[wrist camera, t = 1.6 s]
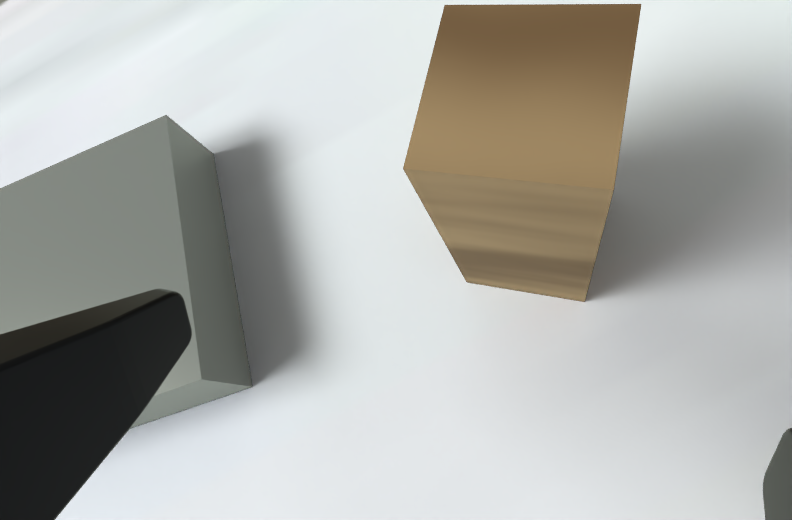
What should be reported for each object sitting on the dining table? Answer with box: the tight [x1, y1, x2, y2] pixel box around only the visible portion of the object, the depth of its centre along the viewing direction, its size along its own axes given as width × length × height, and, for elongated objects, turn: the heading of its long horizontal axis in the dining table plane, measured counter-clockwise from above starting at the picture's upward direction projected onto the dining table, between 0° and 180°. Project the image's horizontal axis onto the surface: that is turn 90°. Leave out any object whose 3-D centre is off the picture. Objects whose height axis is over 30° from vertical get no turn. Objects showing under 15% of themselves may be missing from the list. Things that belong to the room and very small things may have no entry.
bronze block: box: [403, 4, 641, 302], centre depth 17 cm, size 4×4×10 cm
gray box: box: [0, 115, 252, 428], centre depth 24 cm, size 12×12×4 cm
